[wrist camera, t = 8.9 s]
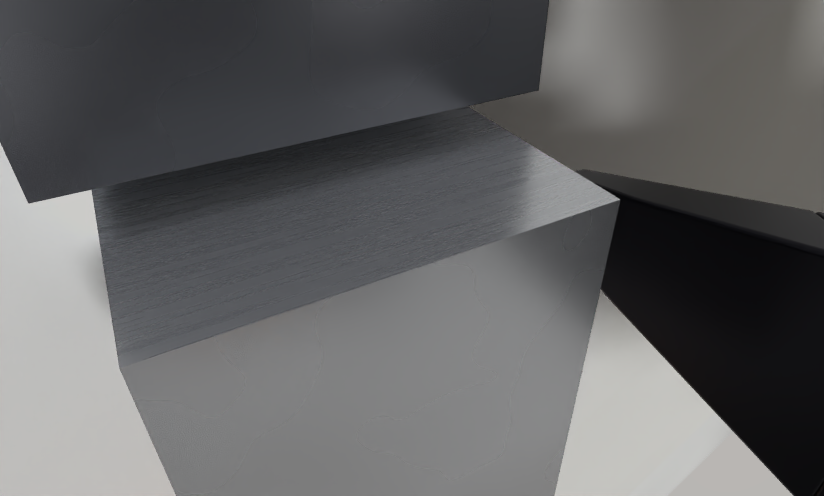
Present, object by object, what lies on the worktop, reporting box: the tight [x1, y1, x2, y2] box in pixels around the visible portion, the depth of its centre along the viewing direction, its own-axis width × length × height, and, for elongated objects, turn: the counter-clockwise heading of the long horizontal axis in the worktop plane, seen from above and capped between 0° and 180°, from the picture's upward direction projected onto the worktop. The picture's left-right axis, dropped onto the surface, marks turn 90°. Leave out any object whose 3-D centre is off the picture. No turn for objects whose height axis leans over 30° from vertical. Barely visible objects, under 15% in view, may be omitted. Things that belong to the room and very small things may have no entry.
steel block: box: [92, 106, 620, 496], centre depth 8 cm, size 5×4×6 cm
